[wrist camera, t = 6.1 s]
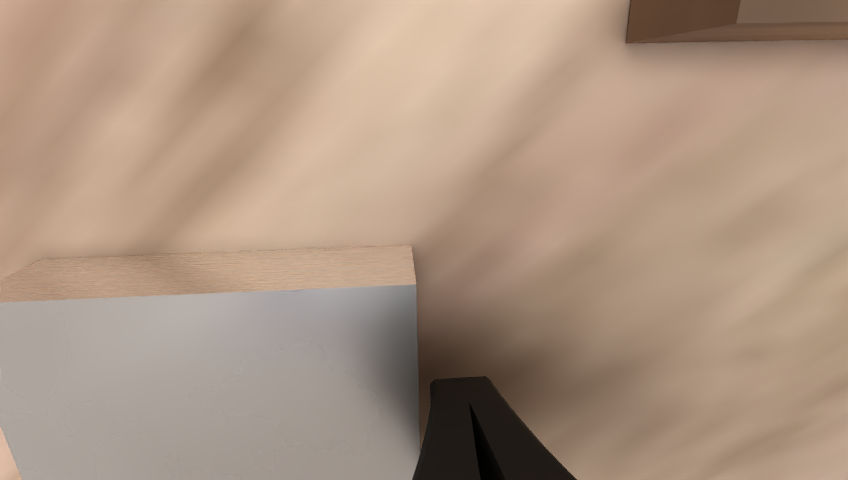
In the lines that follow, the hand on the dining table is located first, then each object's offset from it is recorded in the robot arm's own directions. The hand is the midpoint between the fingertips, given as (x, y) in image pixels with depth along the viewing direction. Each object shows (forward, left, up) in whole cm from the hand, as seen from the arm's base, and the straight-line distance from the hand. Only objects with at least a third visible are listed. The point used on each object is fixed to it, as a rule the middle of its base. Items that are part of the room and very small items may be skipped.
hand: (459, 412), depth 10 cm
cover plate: (+5, 0, -1) cm, 5 cm away
